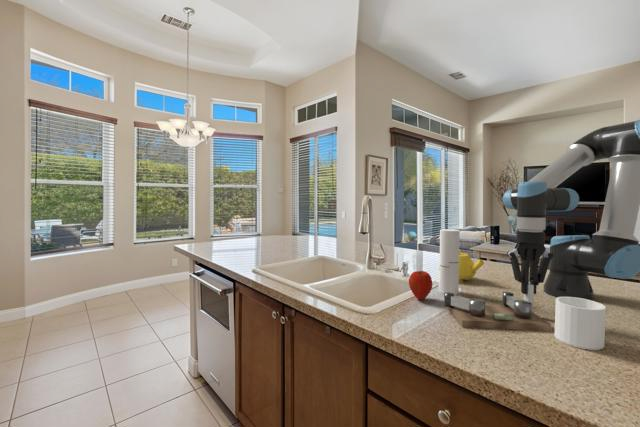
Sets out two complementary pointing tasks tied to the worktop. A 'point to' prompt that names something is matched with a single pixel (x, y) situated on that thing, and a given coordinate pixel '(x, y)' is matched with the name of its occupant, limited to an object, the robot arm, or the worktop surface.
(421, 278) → the apple
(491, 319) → the levelling board
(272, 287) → the worktop surface
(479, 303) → the knob
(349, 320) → the worktop surface
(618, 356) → the worktop surface
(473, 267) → the teapot
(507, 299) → the knob
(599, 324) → the mug
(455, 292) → the cylindrical container
